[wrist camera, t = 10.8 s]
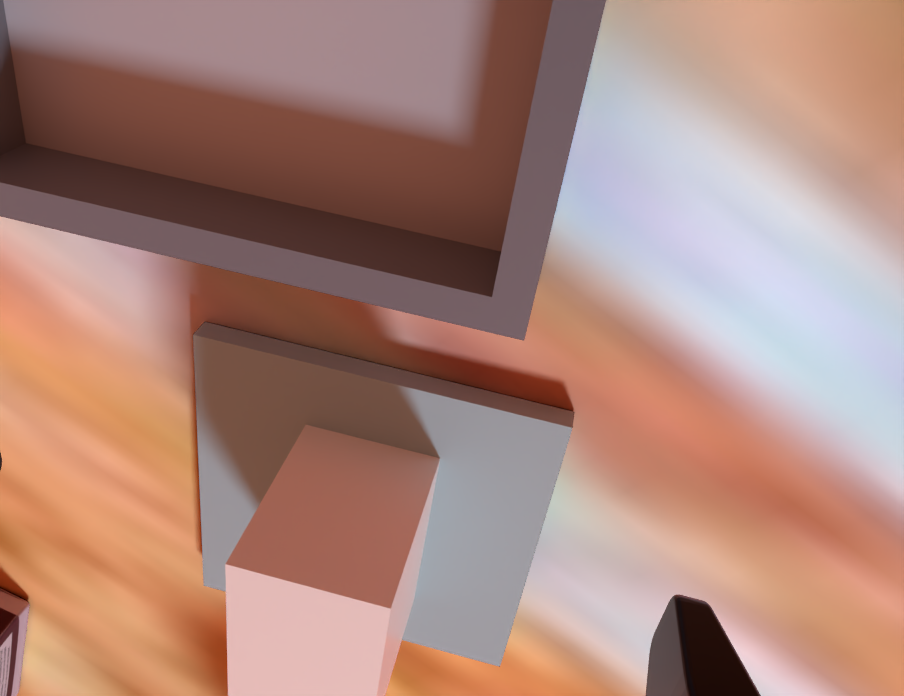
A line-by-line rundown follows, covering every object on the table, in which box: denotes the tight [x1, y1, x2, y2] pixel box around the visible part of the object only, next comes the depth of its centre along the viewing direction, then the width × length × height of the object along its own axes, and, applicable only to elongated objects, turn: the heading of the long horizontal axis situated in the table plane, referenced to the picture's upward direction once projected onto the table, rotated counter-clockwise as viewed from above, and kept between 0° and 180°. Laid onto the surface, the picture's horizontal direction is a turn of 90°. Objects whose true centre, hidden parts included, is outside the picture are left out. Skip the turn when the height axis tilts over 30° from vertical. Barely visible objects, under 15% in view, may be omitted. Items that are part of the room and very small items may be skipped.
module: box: [225, 425, 440, 696], centre depth 25 cm, size 4×7×6 cm, turn 173°
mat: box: [193, 322, 574, 667], centre depth 28 cm, size 12×12×1 cm
